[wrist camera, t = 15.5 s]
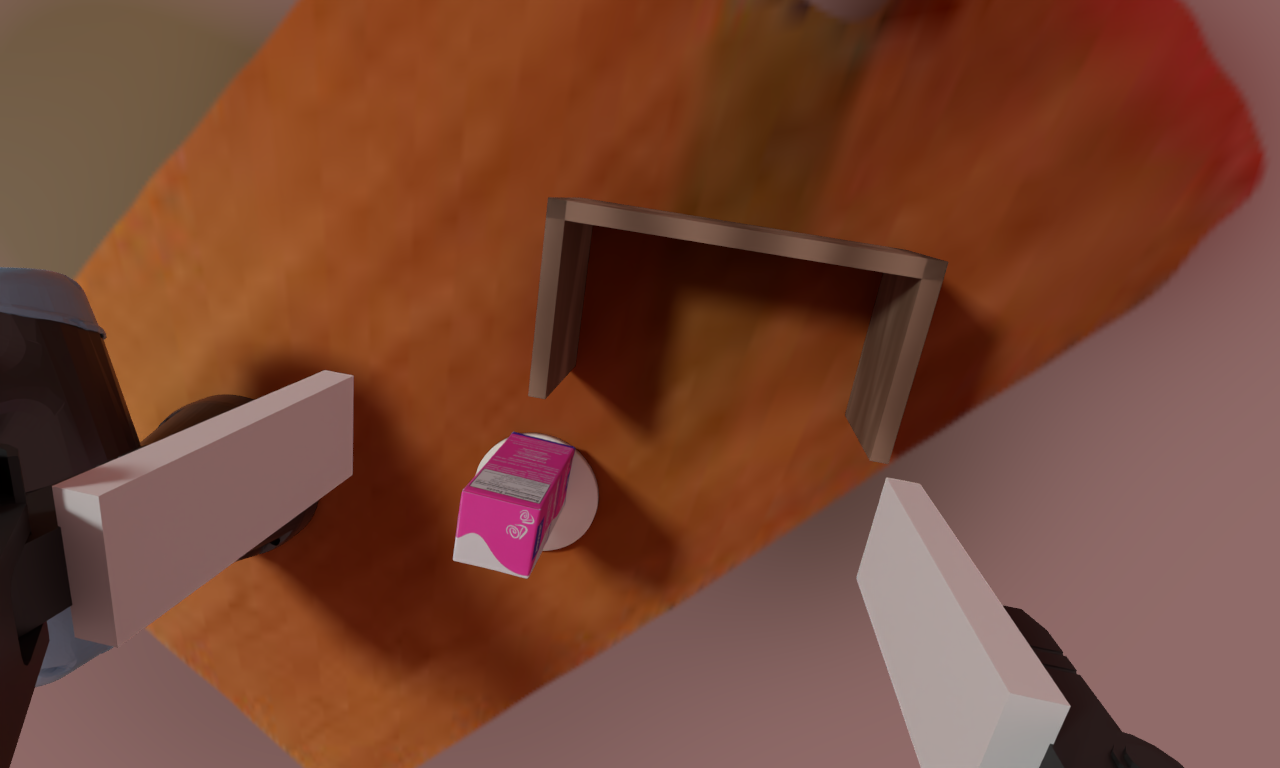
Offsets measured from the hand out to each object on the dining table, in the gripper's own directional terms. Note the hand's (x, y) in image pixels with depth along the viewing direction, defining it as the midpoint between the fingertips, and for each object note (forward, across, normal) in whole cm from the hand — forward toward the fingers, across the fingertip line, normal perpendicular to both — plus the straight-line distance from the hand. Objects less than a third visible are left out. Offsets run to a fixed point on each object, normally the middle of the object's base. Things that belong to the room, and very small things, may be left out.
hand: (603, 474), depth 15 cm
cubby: (+35, +3, -2) cm, 35 cm away
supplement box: (+34, -10, -17) cm, 39 cm away
